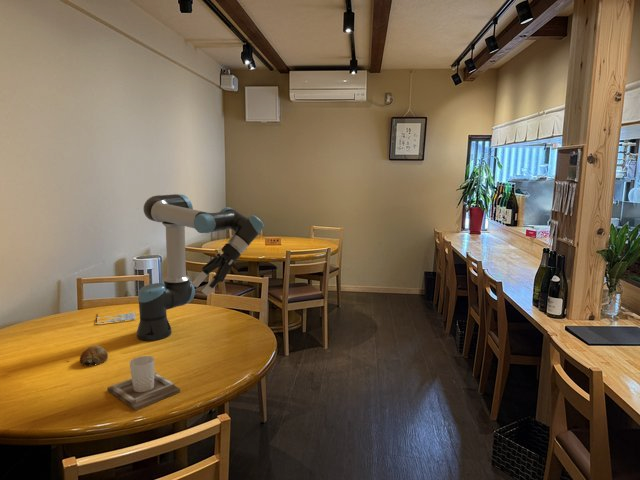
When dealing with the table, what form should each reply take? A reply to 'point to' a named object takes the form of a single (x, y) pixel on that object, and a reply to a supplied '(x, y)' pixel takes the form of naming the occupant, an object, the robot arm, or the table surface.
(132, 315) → the snack bag
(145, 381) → the white cup
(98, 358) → the bread roll
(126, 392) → the keeper board
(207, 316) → the table surface
